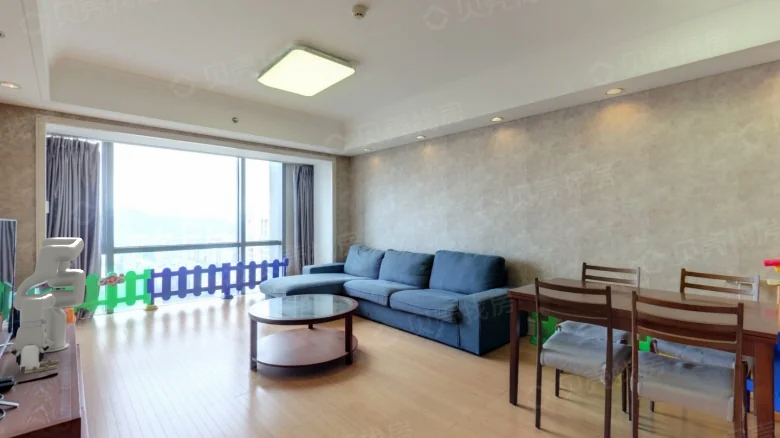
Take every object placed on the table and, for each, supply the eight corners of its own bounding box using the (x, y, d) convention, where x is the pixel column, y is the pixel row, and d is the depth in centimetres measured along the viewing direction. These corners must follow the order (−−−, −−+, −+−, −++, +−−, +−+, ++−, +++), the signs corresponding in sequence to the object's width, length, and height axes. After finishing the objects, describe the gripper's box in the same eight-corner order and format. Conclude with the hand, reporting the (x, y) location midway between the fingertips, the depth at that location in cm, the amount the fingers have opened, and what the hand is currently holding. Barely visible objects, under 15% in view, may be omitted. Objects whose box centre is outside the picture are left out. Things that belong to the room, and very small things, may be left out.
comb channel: (25, 367, 172) (25, 360, 172) (59, 362, 179) (59, 356, 179) (20, 374, 164) (20, 367, 164) (56, 368, 171) (56, 362, 171)
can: (27, 372, 166) (28, 346, 166) (16, 370, 167) (17, 344, 167) (43, 366, 172) (44, 341, 172) (32, 365, 173) (33, 340, 174)
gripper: (57, 319, 178) (56, 356, 178) (7, 324, 168) (5, 363, 168) (55, 323, 172) (54, 361, 172) (3, 328, 162) (1, 369, 162)
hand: (30, 362), depth 170 cm, fingers closed on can, 6 cm apart
